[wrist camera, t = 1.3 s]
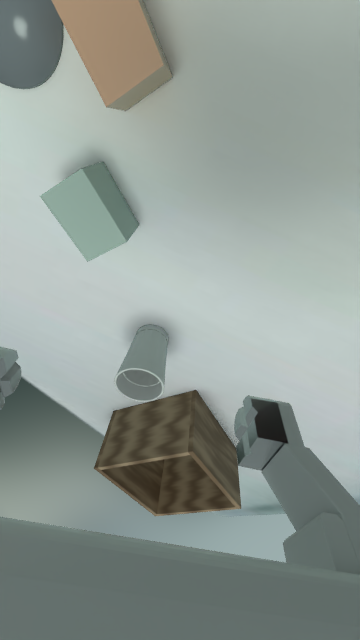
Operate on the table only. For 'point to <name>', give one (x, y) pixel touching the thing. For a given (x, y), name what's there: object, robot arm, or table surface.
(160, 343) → the cup
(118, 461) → the walnut planter box
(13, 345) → the table surface
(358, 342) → the table surface
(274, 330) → the table surface
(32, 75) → the slate coaster
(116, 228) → the pale green upright block
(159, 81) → the peach smooth rectangular block
